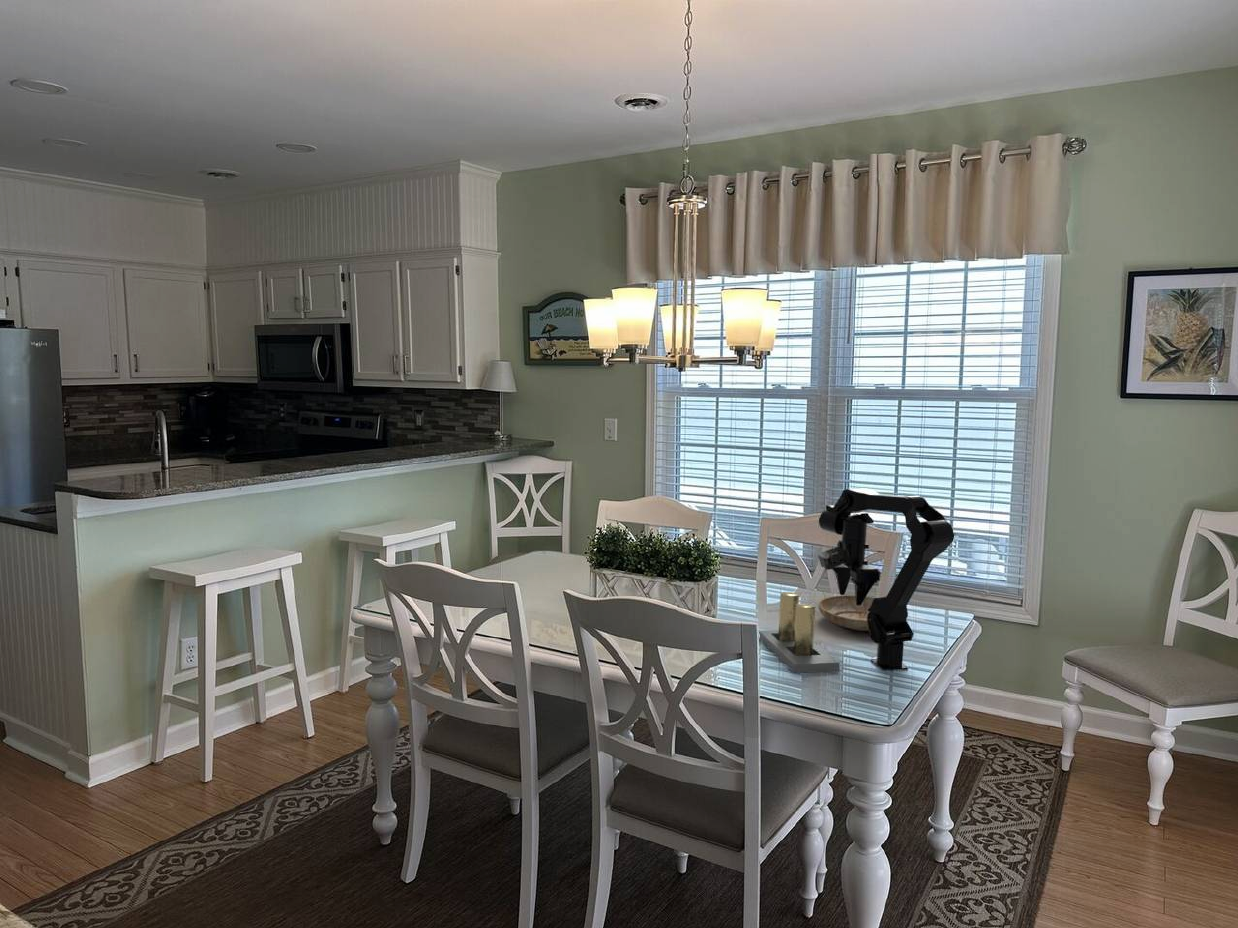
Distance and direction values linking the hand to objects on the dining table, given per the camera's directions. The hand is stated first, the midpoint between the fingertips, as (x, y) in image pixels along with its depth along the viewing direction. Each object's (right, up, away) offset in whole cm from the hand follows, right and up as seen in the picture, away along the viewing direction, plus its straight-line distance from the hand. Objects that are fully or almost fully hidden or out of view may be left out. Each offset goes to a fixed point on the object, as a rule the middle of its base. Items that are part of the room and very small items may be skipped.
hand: (850, 599), depth 213 cm
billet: (-16, -12, +1) cm, 19 cm away
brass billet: (-14, -13, -9) cm, 21 cm away
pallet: (-14, -12, -5) cm, 20 cm away
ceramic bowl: (+8, -10, +20) cm, 24 cm away
